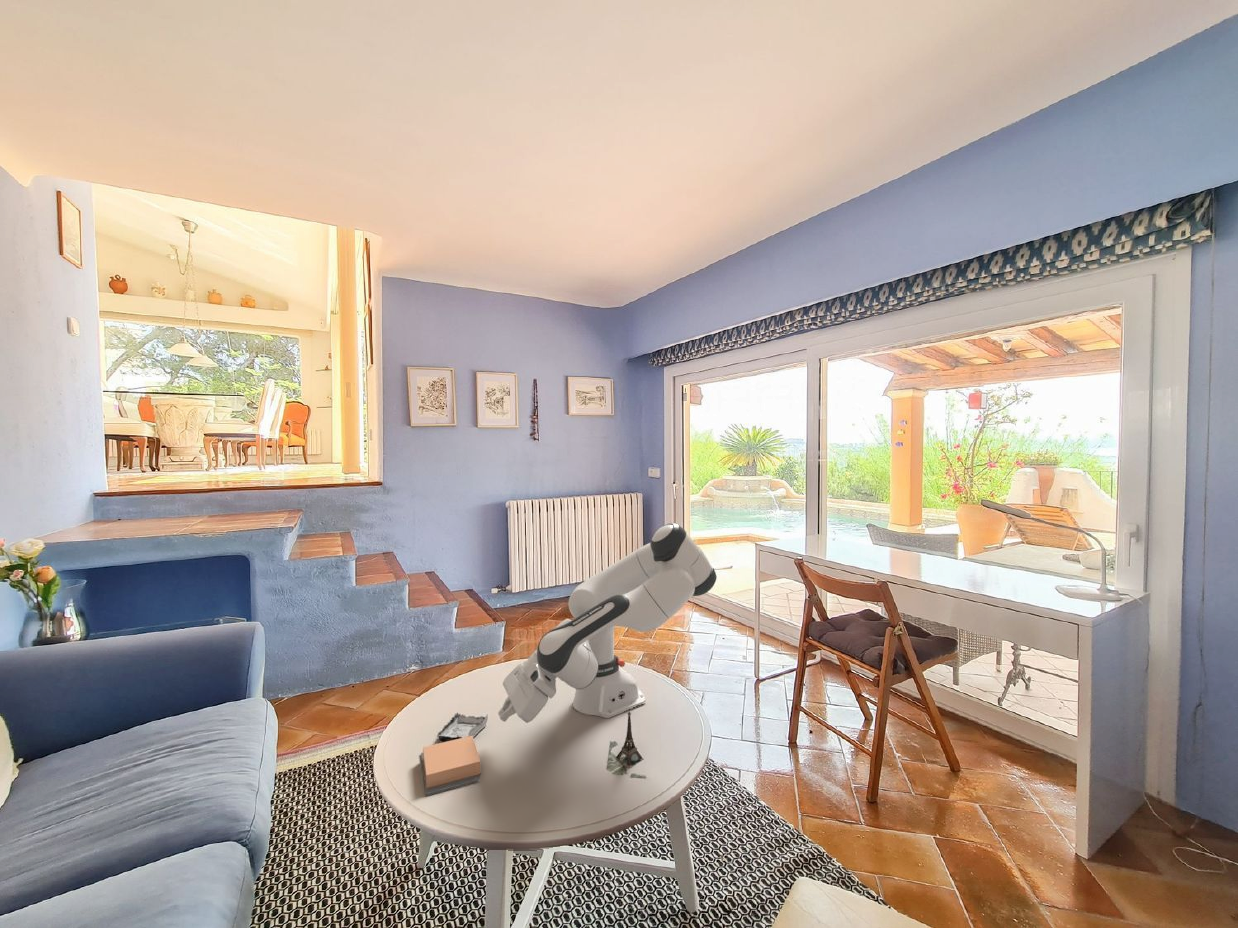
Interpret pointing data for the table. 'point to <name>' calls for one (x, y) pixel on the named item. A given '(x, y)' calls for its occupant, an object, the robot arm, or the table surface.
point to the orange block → (450, 761)
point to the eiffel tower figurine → (624, 755)
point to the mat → (448, 785)
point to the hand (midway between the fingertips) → (500, 717)
